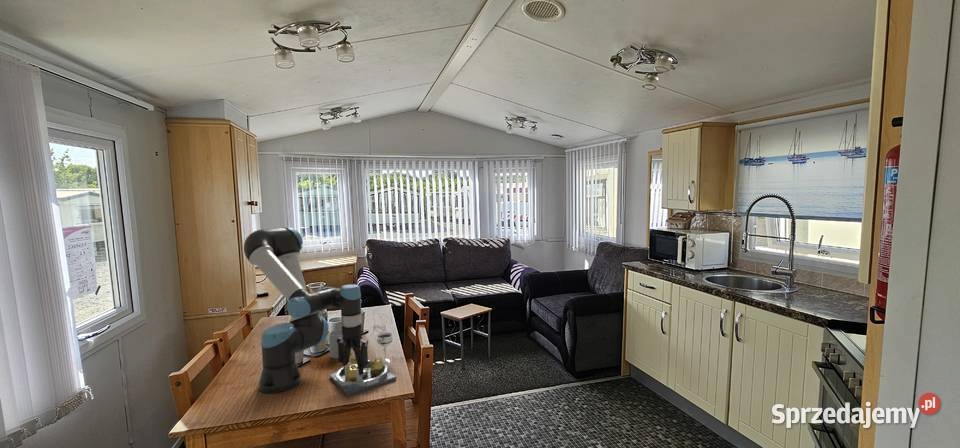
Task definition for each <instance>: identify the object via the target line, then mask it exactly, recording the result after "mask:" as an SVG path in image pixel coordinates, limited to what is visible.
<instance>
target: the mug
mask: <svg viewBox="0 0 960 448" xmlns="http://www.w3.org/2000/svg"><path fill="white" fill-rule="evenodd" d="M340 337H343V335H342V328H340V329H334V330H331V331H330V332H328V341H329V344H328V345H329V347H328V348H329V357H330V358H331V359H334V360H335V359H337V360H338V359H339V357H338V343H337V339H338V338H340ZM344 343H345V342H344Z"/></svg>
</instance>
